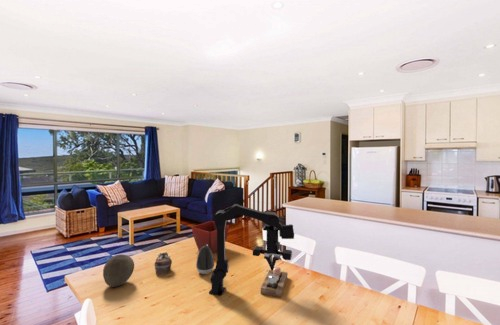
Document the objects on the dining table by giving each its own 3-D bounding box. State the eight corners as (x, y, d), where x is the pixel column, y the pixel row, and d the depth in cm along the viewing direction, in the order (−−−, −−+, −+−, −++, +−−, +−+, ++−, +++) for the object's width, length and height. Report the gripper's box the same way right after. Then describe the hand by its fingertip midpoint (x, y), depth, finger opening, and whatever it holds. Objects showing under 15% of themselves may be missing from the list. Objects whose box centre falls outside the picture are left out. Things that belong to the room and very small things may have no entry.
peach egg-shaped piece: (279, 279, 130) (279, 270, 129) (272, 278, 131) (272, 269, 131) (281, 275, 133) (281, 267, 133) (273, 274, 135) (273, 266, 134)
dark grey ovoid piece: (216, 268, 146) (216, 242, 146) (211, 276, 136) (211, 249, 135) (199, 267, 147) (199, 242, 147) (193, 276, 137) (193, 249, 136)
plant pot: (210, 257, 161) (210, 232, 161) (191, 250, 173) (190, 226, 172) (229, 248, 177) (229, 225, 176) (211, 242, 188) (210, 220, 187)
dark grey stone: (121, 293, 120) (120, 263, 120) (96, 290, 123) (95, 260, 123) (139, 278, 134) (139, 251, 134) (117, 276, 137) (116, 249, 137)
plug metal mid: (277, 287, 124) (277, 278, 124) (270, 286, 126) (270, 277, 125) (279, 283, 128) (279, 274, 128) (271, 282, 129) (271, 273, 129)
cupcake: (152, 270, 144) (151, 253, 144) (168, 265, 150) (168, 249, 149) (157, 276, 136) (156, 259, 136) (174, 271, 142) (174, 254, 142)
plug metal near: (275, 288, 119) (275, 278, 119) (267, 286, 120) (267, 277, 120) (277, 284, 123) (277, 274, 123) (269, 282, 124) (269, 273, 124)
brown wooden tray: (281, 297, 116) (281, 291, 116) (260, 293, 119) (260, 287, 119) (287, 277, 135) (287, 272, 134) (269, 275, 138) (269, 269, 137)
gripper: (293, 235, 126) (293, 265, 126) (258, 231, 131) (258, 260, 132) (290, 242, 115) (290, 275, 116) (252, 238, 121) (252, 270, 121)
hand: (272, 269), depth 121 cm, fingers closed
